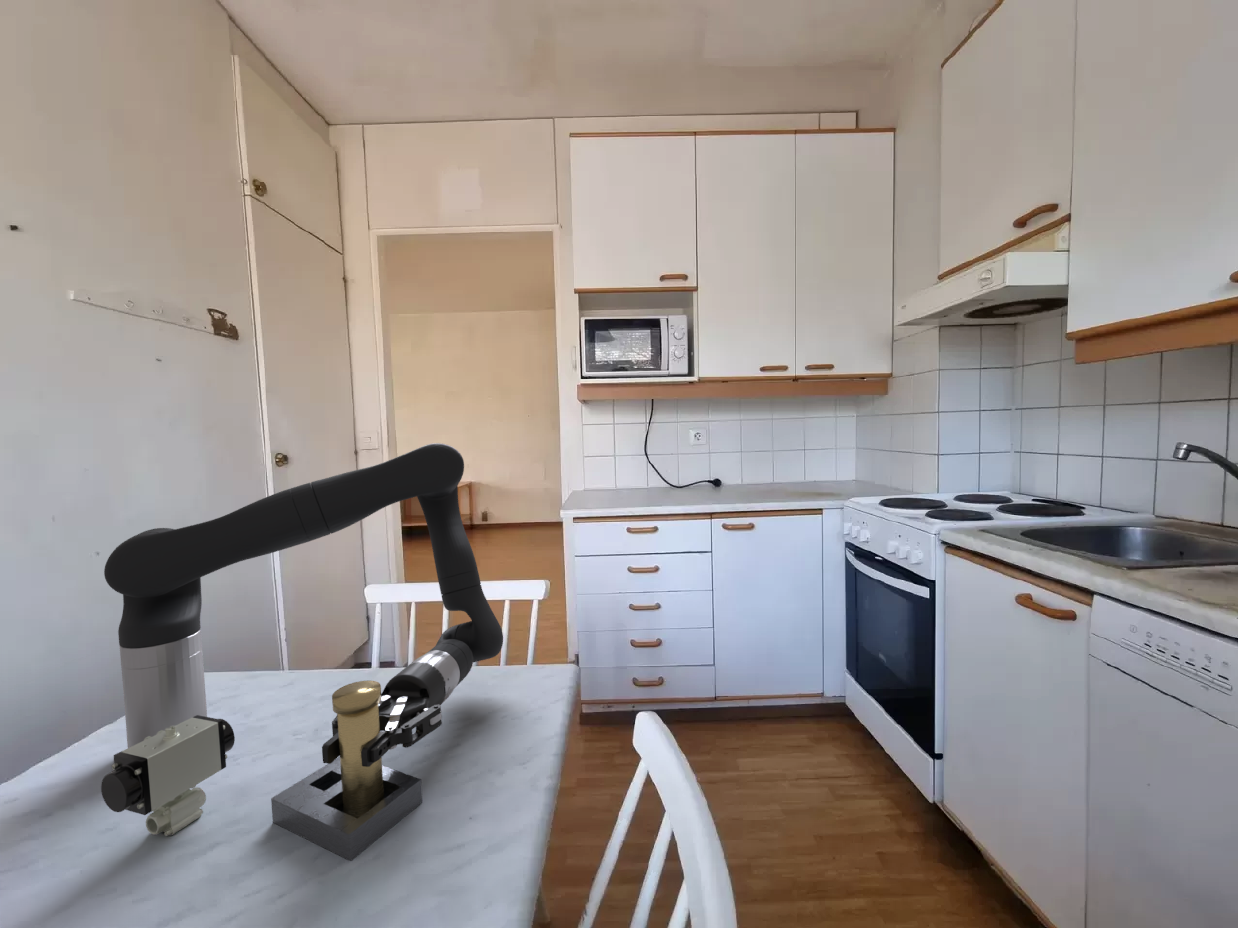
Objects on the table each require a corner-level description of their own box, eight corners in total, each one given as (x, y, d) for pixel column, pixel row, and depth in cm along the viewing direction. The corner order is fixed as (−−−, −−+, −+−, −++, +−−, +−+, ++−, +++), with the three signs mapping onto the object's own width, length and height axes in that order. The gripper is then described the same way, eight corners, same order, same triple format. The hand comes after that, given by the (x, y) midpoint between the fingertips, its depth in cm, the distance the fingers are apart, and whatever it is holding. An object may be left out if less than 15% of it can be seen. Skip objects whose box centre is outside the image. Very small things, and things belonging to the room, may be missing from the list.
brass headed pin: (330, 819, 62) (321, 696, 61) (368, 791, 67) (361, 677, 66) (360, 833, 60) (351, 705, 59) (397, 803, 65) (390, 685, 64)
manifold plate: (272, 822, 63) (271, 798, 63) (348, 773, 72) (346, 752, 72) (350, 860, 57) (348, 834, 57) (422, 802, 66) (421, 779, 66)
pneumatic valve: (240, 795, 68) (233, 705, 68) (133, 865, 57) (124, 759, 57) (209, 787, 70) (203, 700, 69) (100, 855, 59) (91, 751, 58)
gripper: (377, 659, 78) (287, 722, 61) (467, 662, 76) (399, 729, 59) (380, 708, 78) (291, 784, 62) (470, 713, 76) (403, 794, 59)
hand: (345, 757), depth 60 cm, fingers closed on brass headed pin, 4 cm apart
